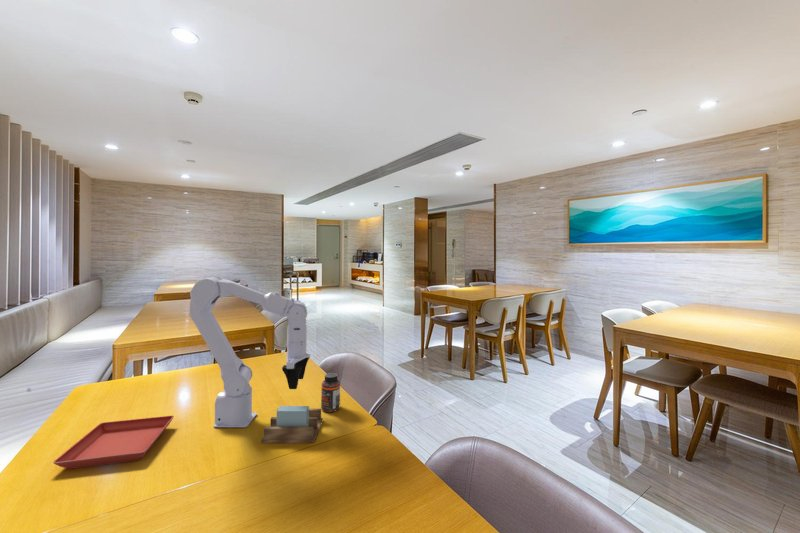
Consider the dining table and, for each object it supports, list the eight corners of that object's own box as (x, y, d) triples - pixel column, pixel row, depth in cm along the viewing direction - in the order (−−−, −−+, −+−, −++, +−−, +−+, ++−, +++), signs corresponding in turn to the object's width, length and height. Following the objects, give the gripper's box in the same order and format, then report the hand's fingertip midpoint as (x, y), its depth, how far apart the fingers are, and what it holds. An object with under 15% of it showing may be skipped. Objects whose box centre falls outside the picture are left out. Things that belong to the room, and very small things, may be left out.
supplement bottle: (317, 410, 107) (317, 375, 106) (329, 403, 112) (329, 370, 112) (331, 414, 104) (332, 379, 103) (343, 407, 109) (343, 373, 109)
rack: (261, 443, 88) (261, 429, 88) (276, 420, 100) (276, 408, 100) (314, 443, 89) (314, 429, 88) (322, 420, 100) (323, 408, 100)
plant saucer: (51, 476, 74) (50, 462, 74) (100, 433, 91) (100, 421, 91) (144, 465, 79) (144, 451, 79) (175, 426, 96) (175, 415, 96)
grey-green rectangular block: (276, 436, 90) (276, 411, 90) (280, 430, 93) (280, 405, 93) (306, 436, 90) (306, 411, 90) (308, 430, 93) (308, 406, 93)
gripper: (304, 347, 95) (303, 393, 96) (315, 334, 110) (314, 374, 111) (279, 347, 95) (279, 393, 96) (293, 334, 110) (293, 374, 110)
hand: (296, 383), depth 103 cm, fingers open, 7 cm apart
